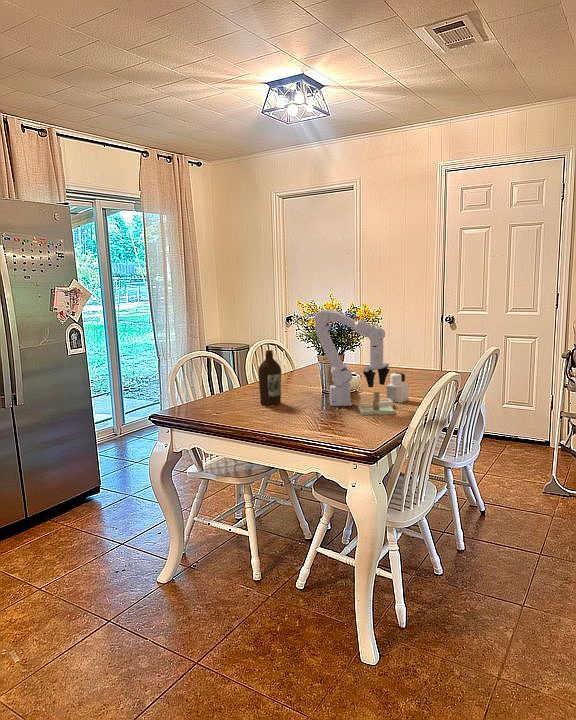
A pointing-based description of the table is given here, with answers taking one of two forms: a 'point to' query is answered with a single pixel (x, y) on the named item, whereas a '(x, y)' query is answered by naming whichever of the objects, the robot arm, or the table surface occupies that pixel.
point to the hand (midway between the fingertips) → (376, 385)
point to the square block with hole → (386, 402)
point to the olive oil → (270, 380)
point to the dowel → (376, 400)
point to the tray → (382, 410)
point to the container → (397, 388)
